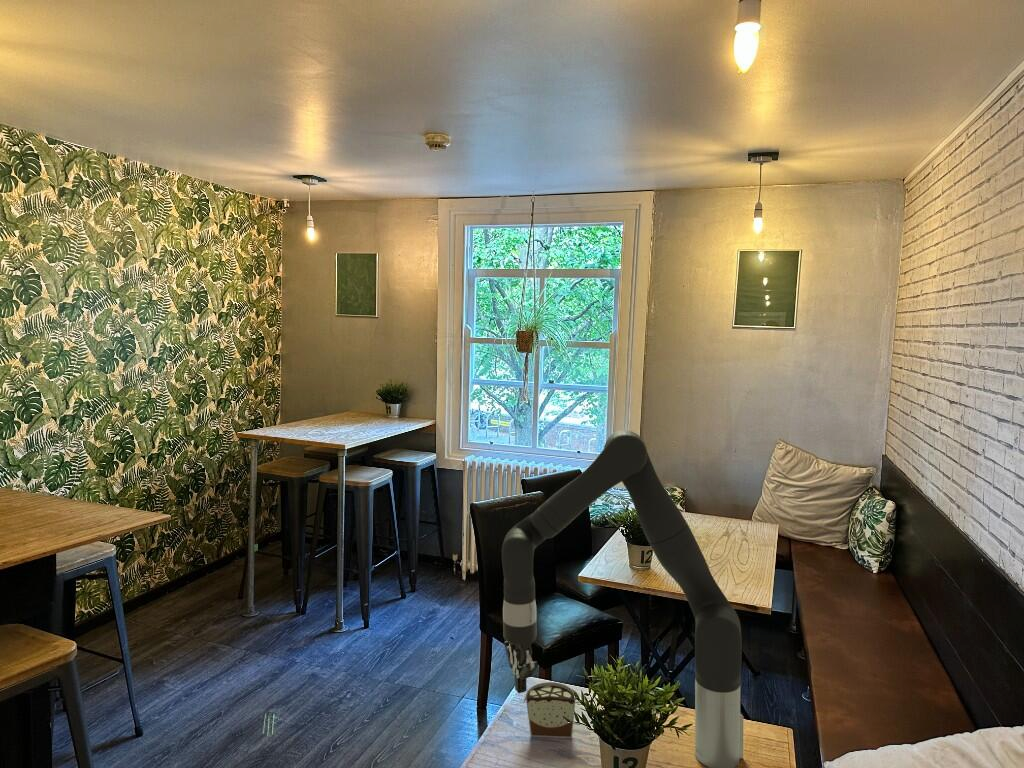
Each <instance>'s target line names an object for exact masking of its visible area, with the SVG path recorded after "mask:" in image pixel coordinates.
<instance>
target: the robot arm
mask: <svg viewBox="0 0 1024 768" xmlns="http://www.w3.org/2000/svg"><path fill="white" fill-rule="evenodd" d="M649 455H650V454H649V453H648V449H647V446H646V443H645V441H644V440H643V438H642V437H641V435H639V434H638V433H636V432H634V431H633V430H632V431H631V430H627V429H620V430H617V431H614V432H613V433H612V434H610V435H609V436H608V437H607V439H606V441H605V443H604V447H603V449H602V451H601V452H600V454H599V455H598V456H597V457H596V459H594V461H593V462H592V463H591V464H590V465H589V466H588V467H587V468H586V469H585V470H584V471H583V472H582V473H581V474H579V475H578V476H577V477H575V478H574V479H572V480H571V481H570V482H568V483H566V484H565V485H564V486H563V487H561V488H559V489H558V491H556V492H555V493H553V494H552V495H551V496H550V497H549V498H548V499H546V501H544V502H543V503H542V504H541V505H540V506H538V508H536V509H535V510H534V512H533V513H531V514H530V515H527V516H525V518H523V519H522V520H521V521H519V522H518V523H516V524H515V525H514V526H513V527H511V529H509V530H508V532H507V533H506V535H504V536H505V537H504V540H503V542H502V543H503V544H502V546H501V563H502V564H501V565H502V572H503V602H502V603H503V604H502V625H503V626H502V629H503V630H502V631H503V633H502V634H503V635H502V636H503V639H504V641H503V645H504V649H505V653H506V656H507V660H508V664H509V667H510V669H512V674H513V675H514V689H515V691H516V692H517V693H518V694H522V693H525V692H527V690H528V689H527V688H528V687H527V679H528V678H532V676H533V675H534V673H535V672H536V670H537V668H538V666H539V665H538V662H537V661H535V660H534V661H533V659H532V655H533V650H532V644H533V643H534V641H535V640H536V639H537V631H538V630H537V629H538V628H537V604H536V581H535V577H534V554H535V549H536V548H537V547H538V546H539V545H541V544H542V543H543V542H544V541H546V540H547V539H553V538H554V537H555V536H557V535H558V534H559V533H561V532H562V531H563V530H564V529H566V527H567V526H569V525H570V524H571V523H572V522H573V521H574V520H575V519H576V518H577V517H578V516H580V515H581V514H582V513H583V512H585V510H586V509H587V508H588V507H589V506H591V505H592V504H593V503H594V502H595V501H596V500H597V499H598V498H600V497H601V496H603V494H605V493H607V492H608V491H610V490H611V489H612V488H613V487H615V486H617V485H618V484H620V483H621V482H622V484H623V486H624V487H625V489H626V490H627V492H628V494H629V497H630V499H631V501H632V503H633V506H634V509H635V512H636V515H637V519H638V521H639V523H640V524H639V525H640V526H641V529H642V531H643V533H644V535H645V538H646V540H647V541H648V543H649V546H650V547H651V549H652V551H653V552H654V553H653V554H654V555H655V557H656V559H657V560H658V562H659V563H660V565H661V567H663V569H664V570H665V571H666V572H667V574H668V575H669V576H670V577H671V578H672V579H673V580H674V581H675V582H676V583H677V585H678V586H679V587H680V589H681V590H682V592H683V594H684V596H685V598H686V600H687V602H688V604H689V607H690V609H691V611H692V614H693V617H694V620H695V621H694V622H695V631H694V670H695V671H694V674H695V676H694V678H695V679H694V690H695V691H694V692H695V693H694V694H695V695H694V697H695V699H694V703H695V704H694V708H695V709H694V713H695V714H694V715H695V716H694V717H695V718H694V723H695V724H694V755H695V757H696V759H697V760H698V761H699V762H700V763H701V764H702V765H704V766H706V767H707V768H736V767H737V766H738V765H739V764H740V760H741V759H744V724H745V723H744V715H743V714H742V713H741V678H742V677H741V676H742V656H743V655H742V653H743V651H742V650H743V649H742V647H743V643H742V642H743V641H742V638H743V637H742V629H741V621H740V618H739V615H738V613H737V612H736V610H735V609H734V607H733V605H732V604H731V603H730V601H729V600H728V598H727V597H726V595H725V594H724V592H723V591H722V589H721V588H720V587H719V585H718V583H717V581H716V580H715V578H714V576H713V575H712V573H711V570H710V568H709V565H708V563H707V561H706V559H705V556H704V554H703V552H702V550H701V548H700V545H699V543H698V542H697V539H696V537H695V535H694V534H693V532H692V530H691V528H690V526H689V524H688V522H687V520H686V518H685V517H684V516H683V515H684V514H682V512H681V510H680V509H679V507H678V505H677V504H676V503H675V501H674V500H673V498H672V497H671V495H670V494H669V492H668V491H667V490H666V487H664V485H663V483H662V482H661V480H660V479H659V476H658V475H657V473H656V471H655V468H654V465H653V463H652V461H651V458H650V456H649Z"/></svg>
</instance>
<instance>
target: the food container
mask: <svg viewBox="0 0 1024 768" xmlns="http://www.w3.org/2000/svg"><path fill="white" fill-rule="evenodd" d="M574 693H575V691H574V690H573V689H572V688H571V687H570V686H568V685H565V684H563V683H559V682H553V681H549V682H546V681H545V682H540V683H537V684H534V685H533V686H531V687H530V688H528V689H527V690H526V693H525V696H524V699H523V704H525V703H526V709H527V718H528V724H529V726H528V727H529V732H530V736H531V737H536V738H537V737H538V738H562V739H564V738H565V739H572V738H573V731H574V729H573V728H574V721H575V720H574V718H575V710H576V709H575V708H576V705H577V706H579V704H578V700H577V701H576V699H575V698H574ZM573 711H574V713H573ZM563 716H565V717H566V718H568V719H569V720H570V721H571V723H568V722H567V721H565V719H564V718H563Z"/></svg>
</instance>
